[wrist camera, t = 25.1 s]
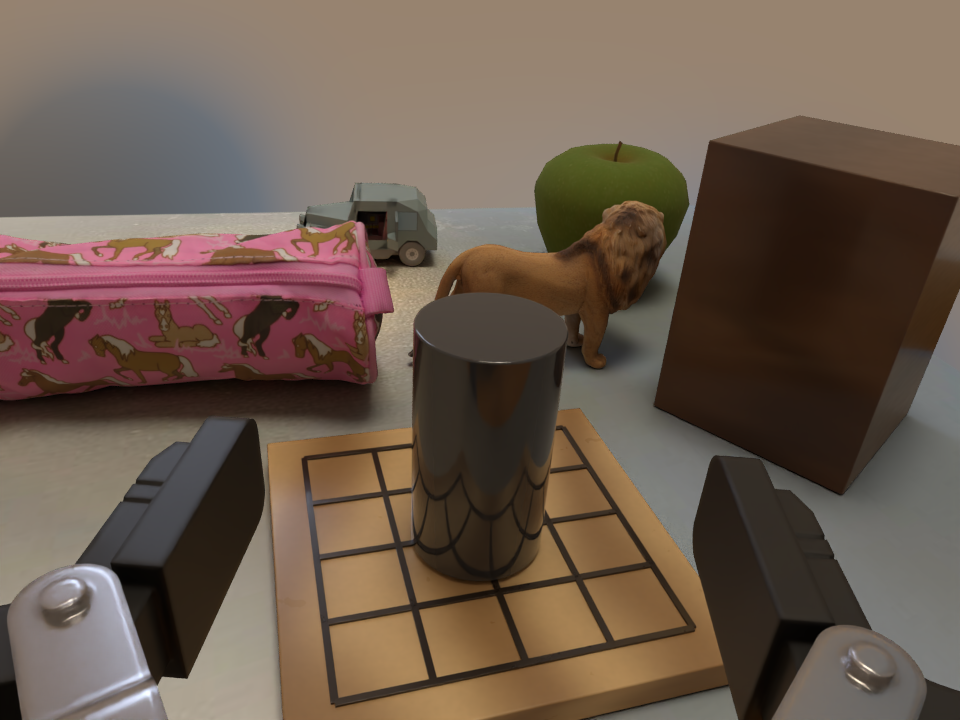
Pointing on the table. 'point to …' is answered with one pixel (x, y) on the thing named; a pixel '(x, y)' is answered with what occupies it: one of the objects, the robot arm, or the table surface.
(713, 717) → the table surface
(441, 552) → the glossy dark cylinder
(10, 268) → the pencil case
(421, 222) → the toy car
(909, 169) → the walnut plinth
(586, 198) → the apple
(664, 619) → the grid board
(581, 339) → the lion figurine
